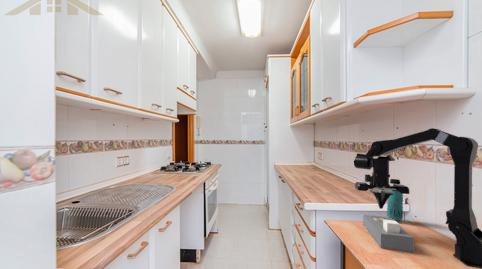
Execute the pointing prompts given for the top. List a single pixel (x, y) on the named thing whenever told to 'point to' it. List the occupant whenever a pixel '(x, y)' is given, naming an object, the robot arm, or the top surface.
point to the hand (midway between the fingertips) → (380, 208)
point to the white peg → (391, 226)
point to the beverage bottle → (395, 203)
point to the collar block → (388, 235)
